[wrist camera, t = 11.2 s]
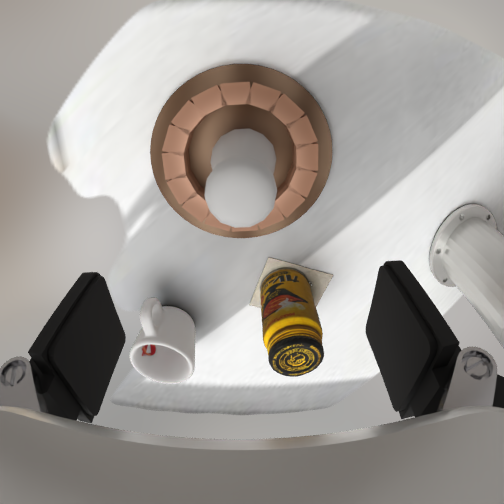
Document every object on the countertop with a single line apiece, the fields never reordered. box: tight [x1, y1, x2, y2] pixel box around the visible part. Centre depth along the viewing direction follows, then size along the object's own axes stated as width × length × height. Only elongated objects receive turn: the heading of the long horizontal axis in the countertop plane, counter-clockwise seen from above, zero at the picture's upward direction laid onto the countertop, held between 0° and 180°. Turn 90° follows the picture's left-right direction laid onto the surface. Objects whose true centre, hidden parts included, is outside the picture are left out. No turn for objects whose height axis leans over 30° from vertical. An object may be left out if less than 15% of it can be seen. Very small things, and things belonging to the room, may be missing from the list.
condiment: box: [250, 258, 333, 376], centre depth 32 cm, size 7×8×12 cm
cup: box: [130, 298, 195, 384], centre depth 35 cm, size 11×8×8 cm
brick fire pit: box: [150, 64, 332, 238], centre depth 27 cm, size 18×18×4 cm
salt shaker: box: [204, 128, 277, 228], centre depth 22 cm, size 6×6×13 cm
